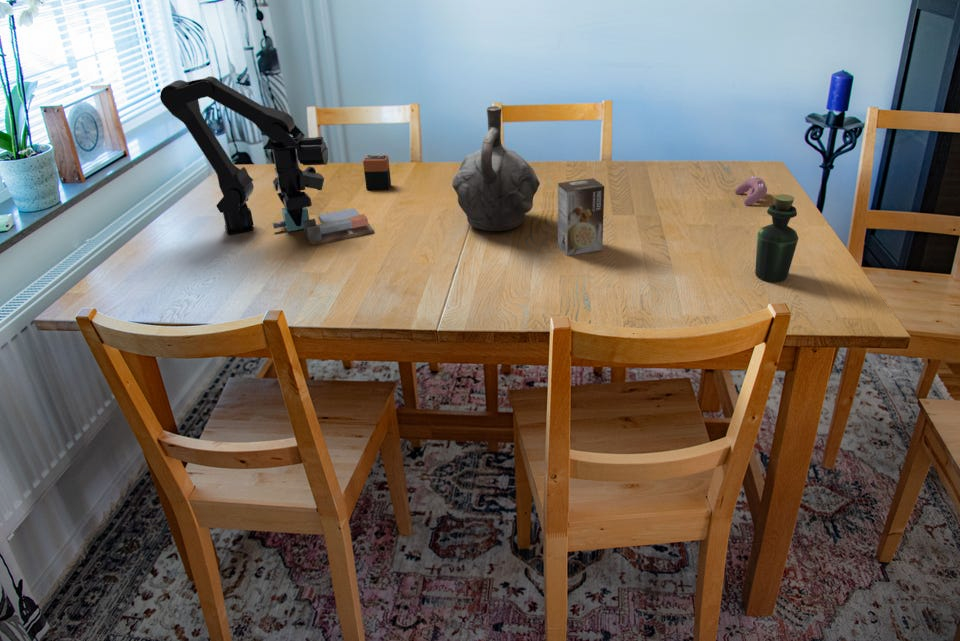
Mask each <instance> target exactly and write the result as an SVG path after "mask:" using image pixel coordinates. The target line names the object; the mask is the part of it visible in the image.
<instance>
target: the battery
mask: <svg viewBox="0 0 960 641" xmlns="http://www.w3.org/2000/svg"><path fill="white" fill-rule="evenodd" d="M389 159H390V158H389V156H388V155H385V153H377V154H376V155H372V154H371V153H370V154H366V156H365V157H364V158H363V160H362V164H363V173H364V181H365V189H366V190H367V191H386V190H387V191H389V189H390V188H391V185H392V180H391V179H392V178H391V171H390V170H391V169H390V160H389Z"/></svg>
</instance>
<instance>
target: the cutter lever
mask: <svg viewBox="0 0 960 641" xmlns="http://www.w3.org/2000/svg"><path fill="white" fill-rule="evenodd" d="M368 223H369V221H368V217H367V216H366V215H365V214H364V213H363V214H360V215H357V216H352V217H349V218H346V219H342V220H337V221H332V222H327V223H323V224H322V223H319V224H318V223H317V224H316V225H313V226H317V225H319V226H320V231H321V234H325V233H329V232H334V231H339V230H343V229H348V228H352V227H353V228H356V227H360V226H365V225H368ZM311 227H312V226H311Z"/></svg>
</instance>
